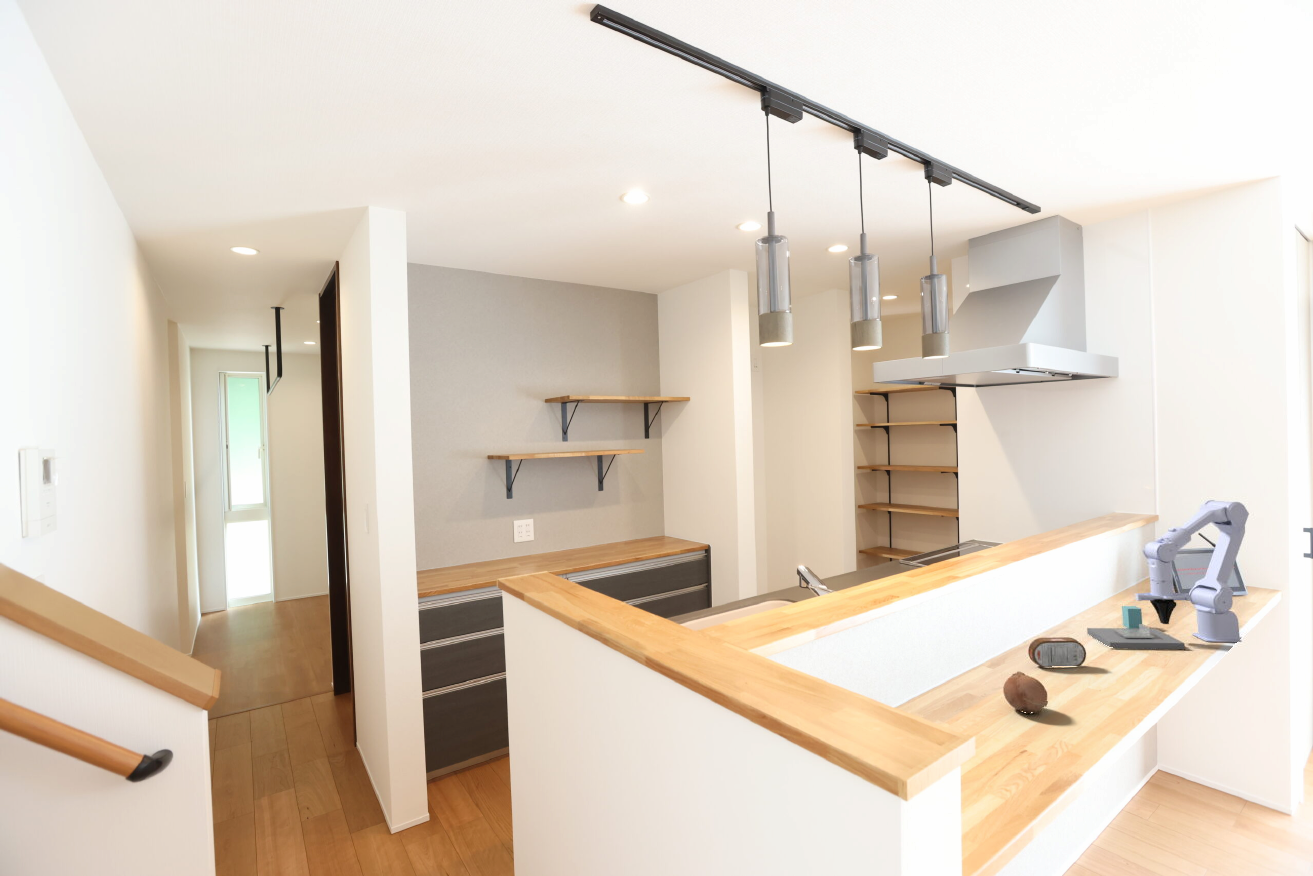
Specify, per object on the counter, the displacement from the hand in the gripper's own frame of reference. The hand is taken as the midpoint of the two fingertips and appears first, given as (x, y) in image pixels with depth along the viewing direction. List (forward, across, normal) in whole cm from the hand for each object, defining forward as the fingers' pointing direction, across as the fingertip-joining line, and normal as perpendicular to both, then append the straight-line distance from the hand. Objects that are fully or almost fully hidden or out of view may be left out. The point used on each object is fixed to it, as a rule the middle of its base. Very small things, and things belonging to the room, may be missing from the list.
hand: (1164, 623), depth 200 cm
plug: (+6, -2, +16) cm, 17 cm away
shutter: (+4, -9, 0) cm, 10 cm away
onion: (+6, -59, -59) cm, 84 cm away
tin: (+6, -40, -26) cm, 48 cm away
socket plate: (+6, -9, 0) cm, 11 cm away
